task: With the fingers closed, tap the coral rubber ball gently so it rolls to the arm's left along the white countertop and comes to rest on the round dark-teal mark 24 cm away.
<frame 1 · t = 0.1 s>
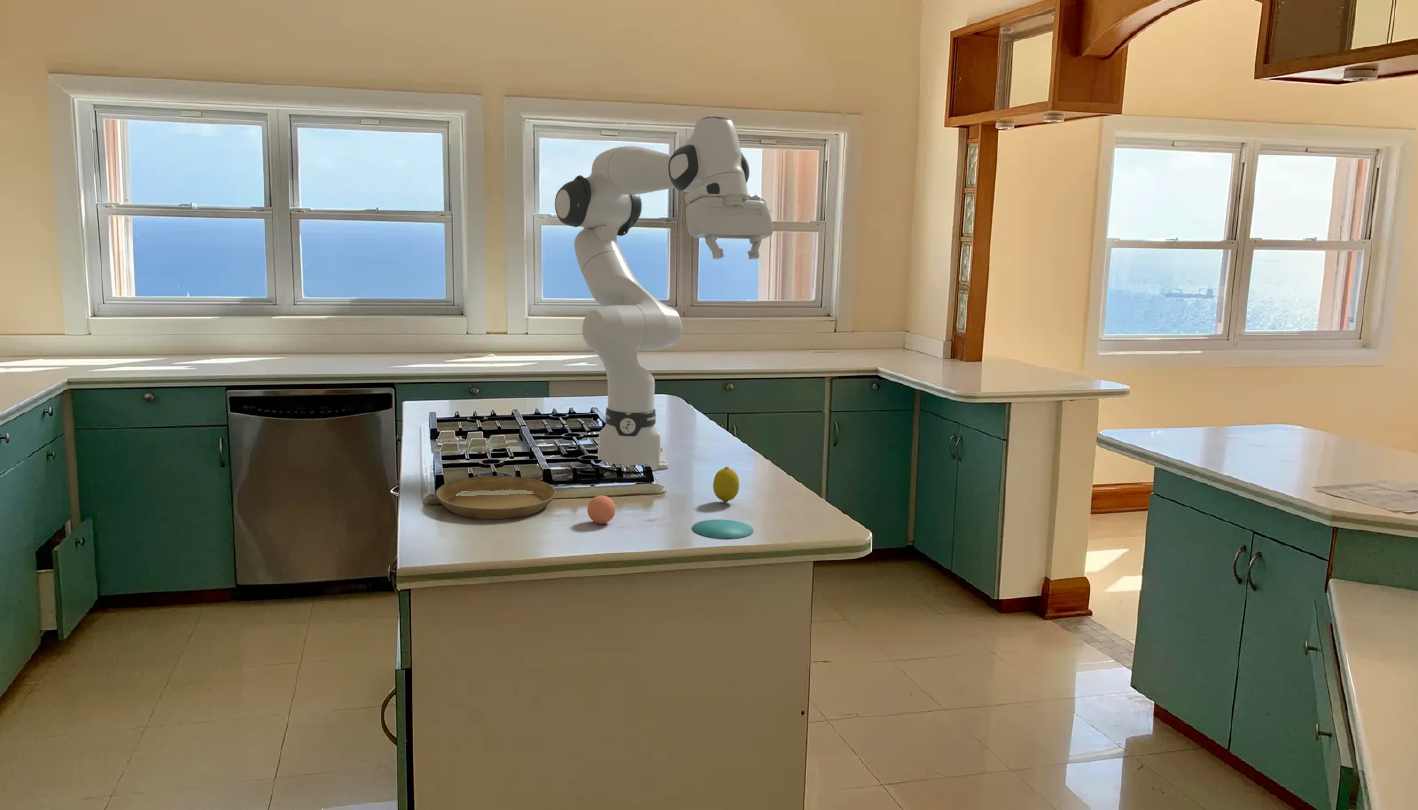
hand: (736, 258, 210), 52 cm above the countertop, tool tilted 20°, fingers open, 8 cm apart
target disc: (722, 529, 201), on the countertop
plant saucer: (496, 507, 212), on the countertop
lemon: (725, 503, 220), on the countertop
ball: (601, 509, 201), on the countertop
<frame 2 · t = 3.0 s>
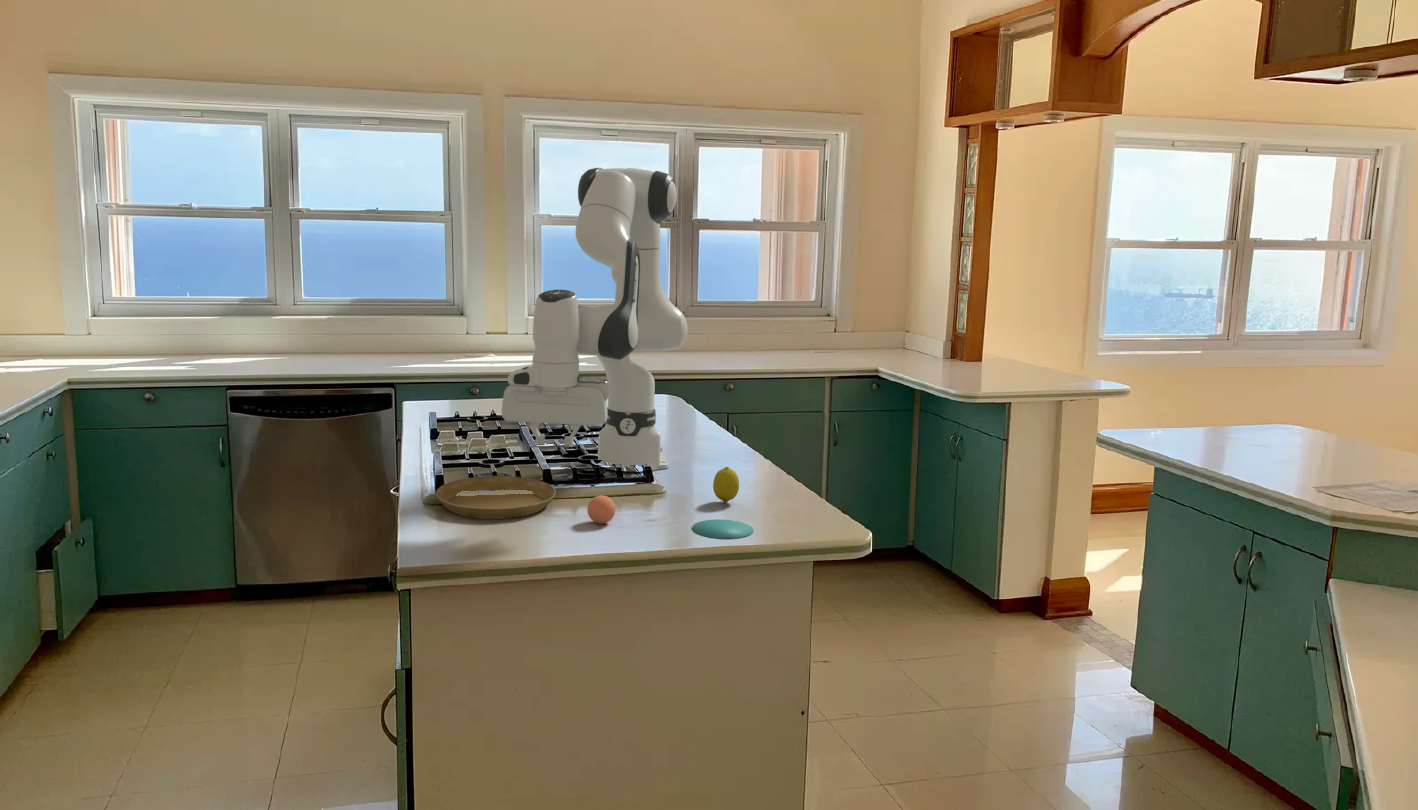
hand: (554, 445, 199), 15 cm above the countertop, tool pointing down, fingers open, 4 cm apart
nothing on the countertop moved.
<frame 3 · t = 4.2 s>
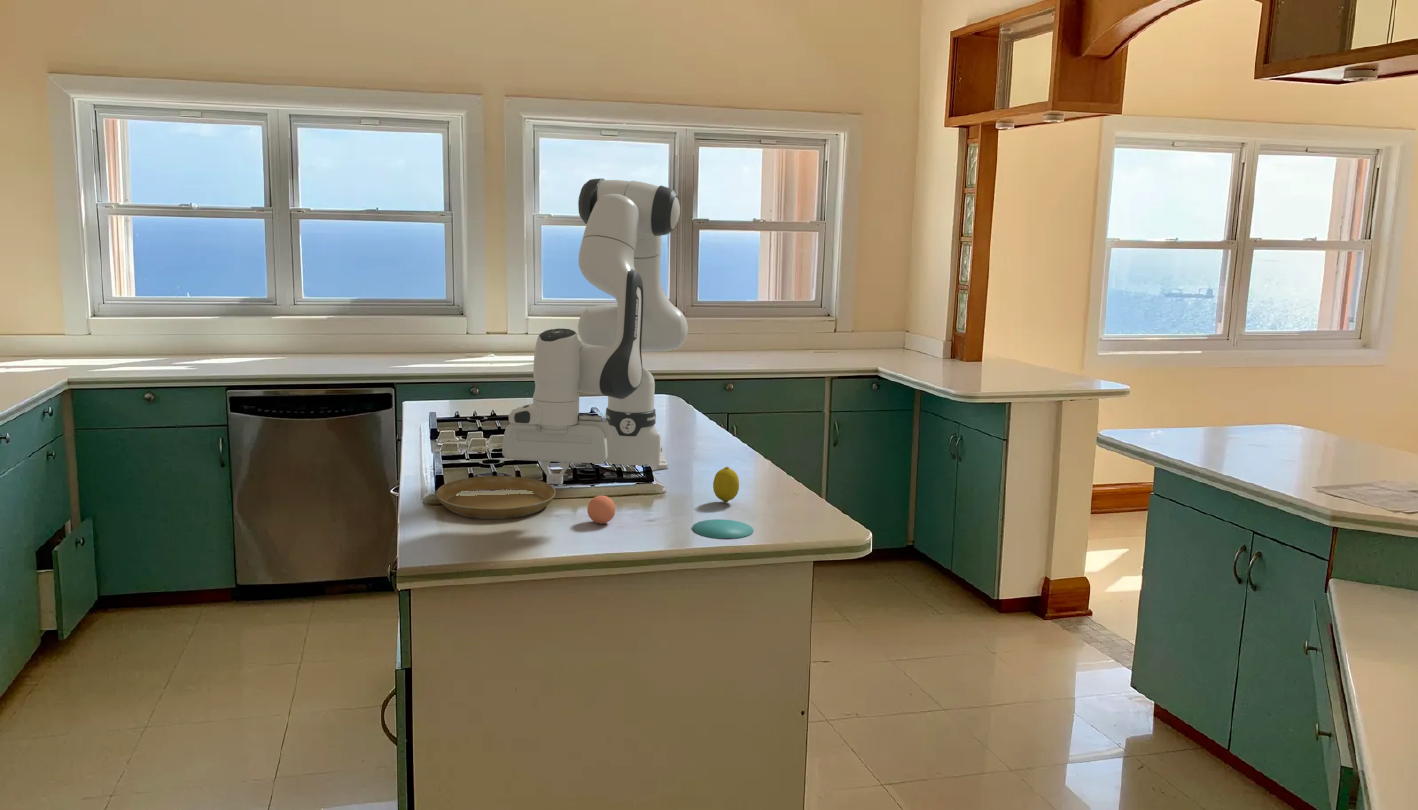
hand: (554, 483, 200), 8 cm above the countertop, tool pointing down, fingers closed
nothing on the countertop moved.
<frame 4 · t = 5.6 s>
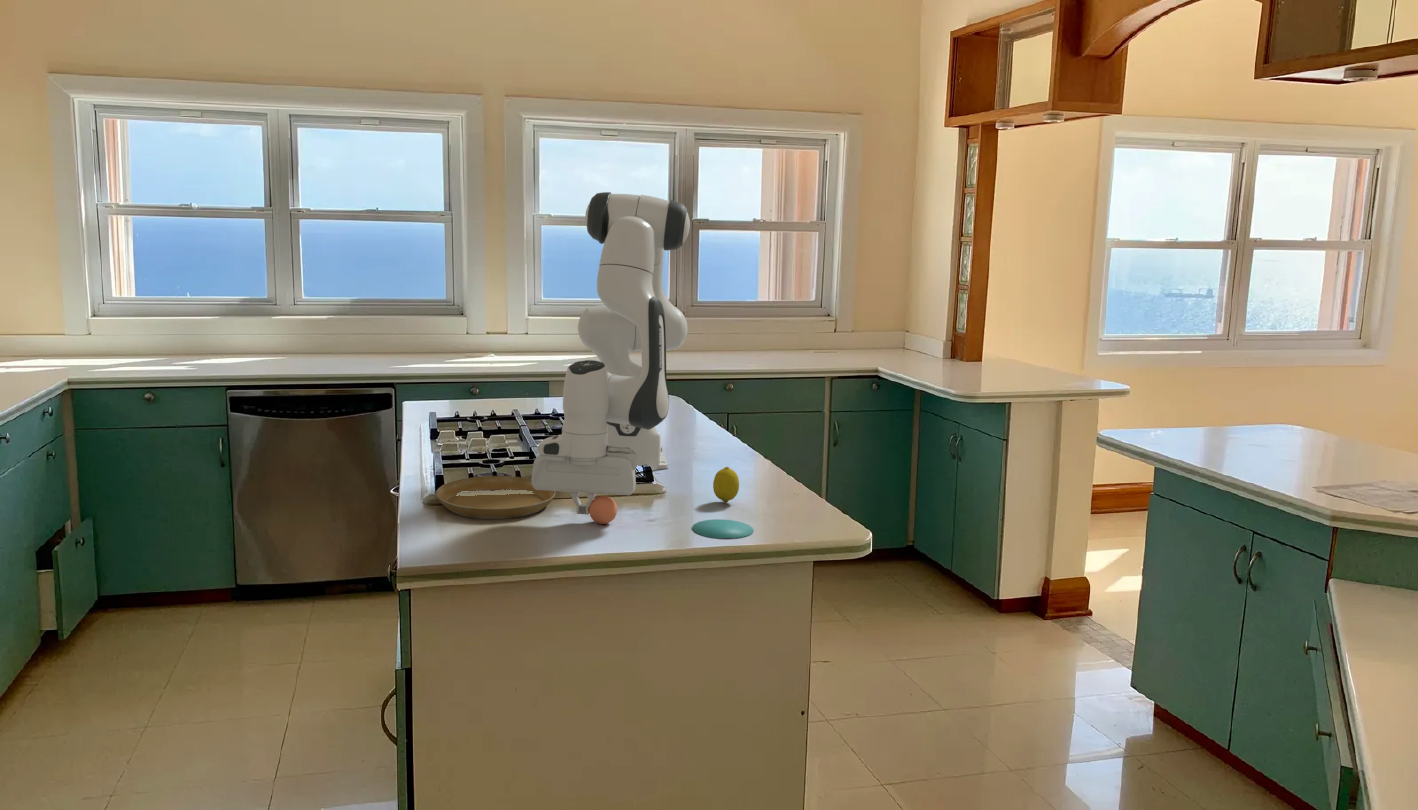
hand: (583, 513, 202), 2 cm above the countertop, tool pointing down, fingers closed
ball: (603, 509, 201), on the countertop, touching gripper
everything else where it was.
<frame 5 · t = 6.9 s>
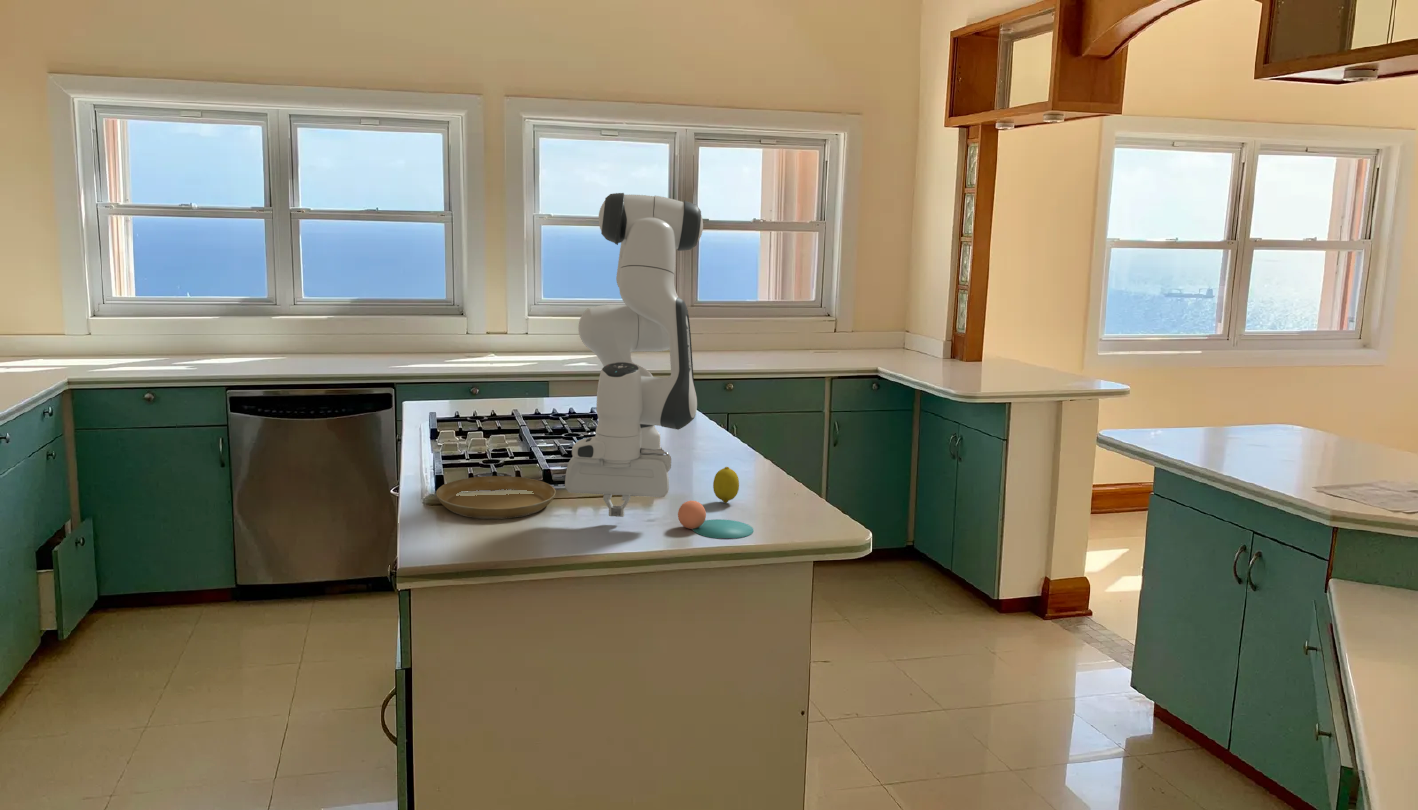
hand: (616, 515, 201), 2 cm above the countertop, tool pointing down, fingers closed
ball: (691, 514, 200), on the countertop
everything else where it was.
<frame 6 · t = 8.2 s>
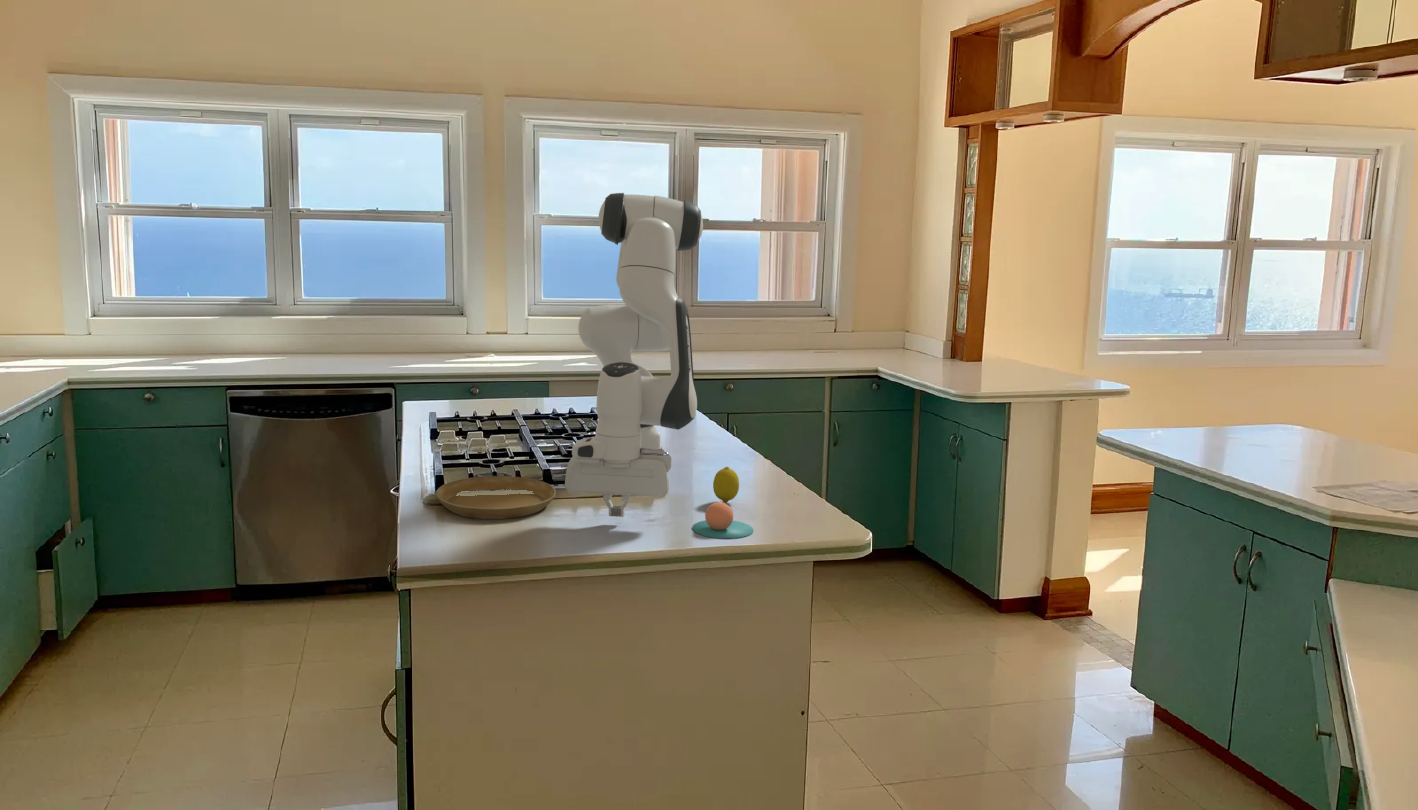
hand: (616, 515, 201), 2 cm above the countertop, tool pointing down, fingers closed
ball: (719, 516, 200), on the countertop
everything else where it was.
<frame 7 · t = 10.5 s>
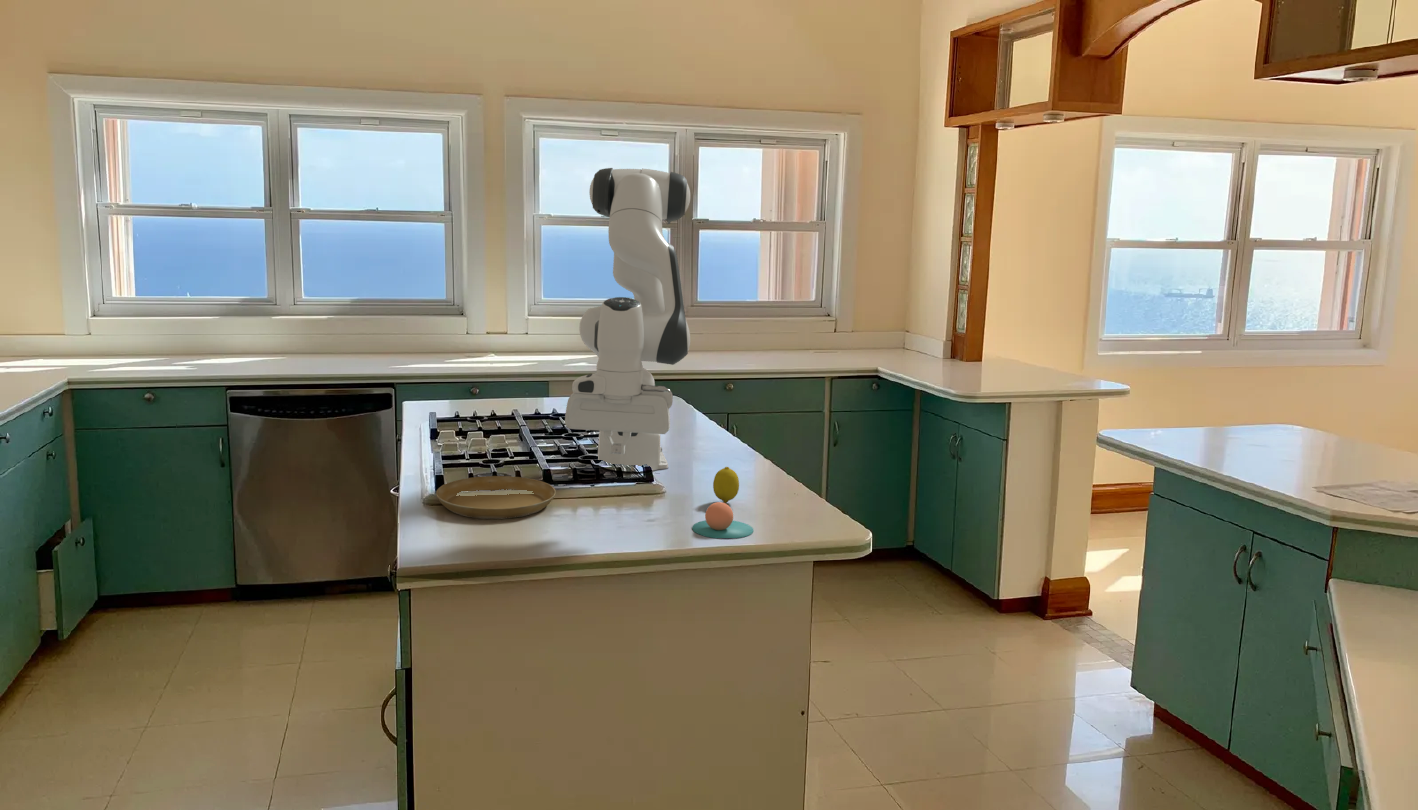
hand: (616, 453, 199), 14 cm above the countertop, tool pointing down, fingers closed
nothing on the countertop moved.
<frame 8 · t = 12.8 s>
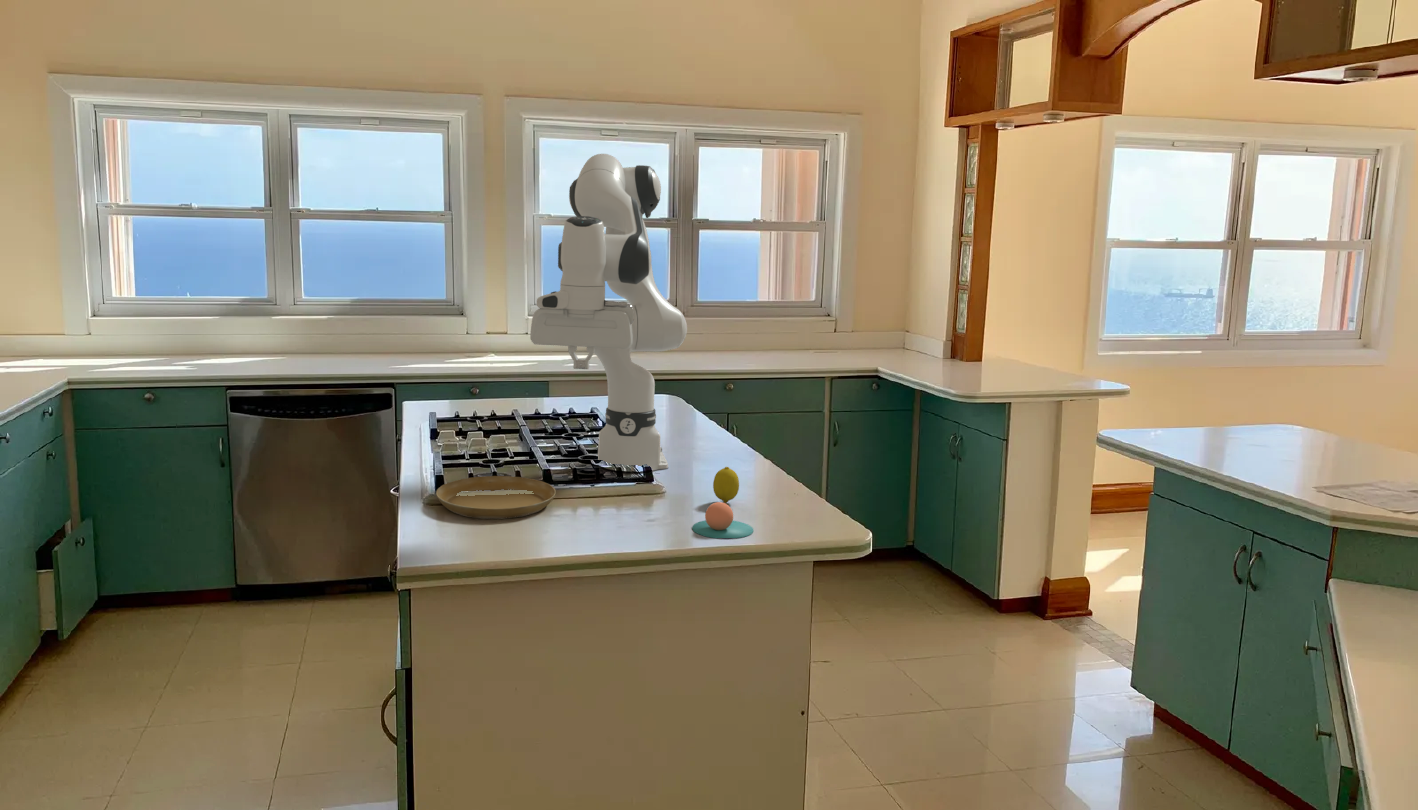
hand: (581, 368, 206), 29 cm above the countertop, tool pointing down, fingers closed
nothing on the countertop moved.
at the end: ball 0.9 cm from the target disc (horizontally); ball at rest at the end (0.0 cm/s); ball moved 23.2 cm from its start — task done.
